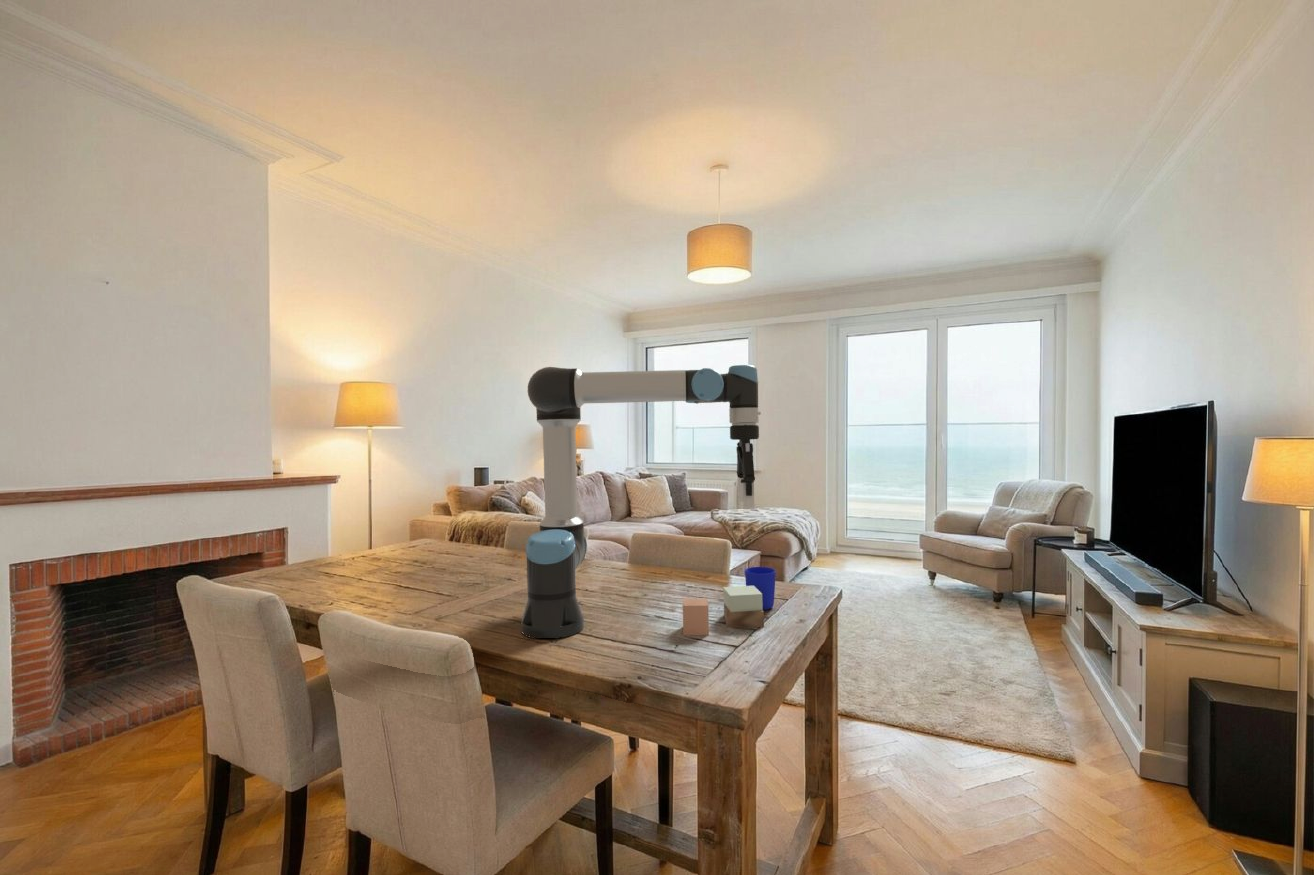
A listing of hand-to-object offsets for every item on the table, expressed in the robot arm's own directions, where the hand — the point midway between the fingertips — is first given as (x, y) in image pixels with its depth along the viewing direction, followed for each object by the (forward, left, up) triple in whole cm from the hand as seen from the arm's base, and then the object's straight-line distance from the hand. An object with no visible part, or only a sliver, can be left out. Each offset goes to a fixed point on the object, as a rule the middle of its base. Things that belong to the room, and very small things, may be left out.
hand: (745, 505), depth 158 cm
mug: (+4, +5, -28) cm, 29 cm away
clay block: (-14, -15, -28) cm, 35 cm away
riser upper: (-2, -8, -24) cm, 26 cm away
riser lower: (-2, -8, -28) cm, 30 cm away
